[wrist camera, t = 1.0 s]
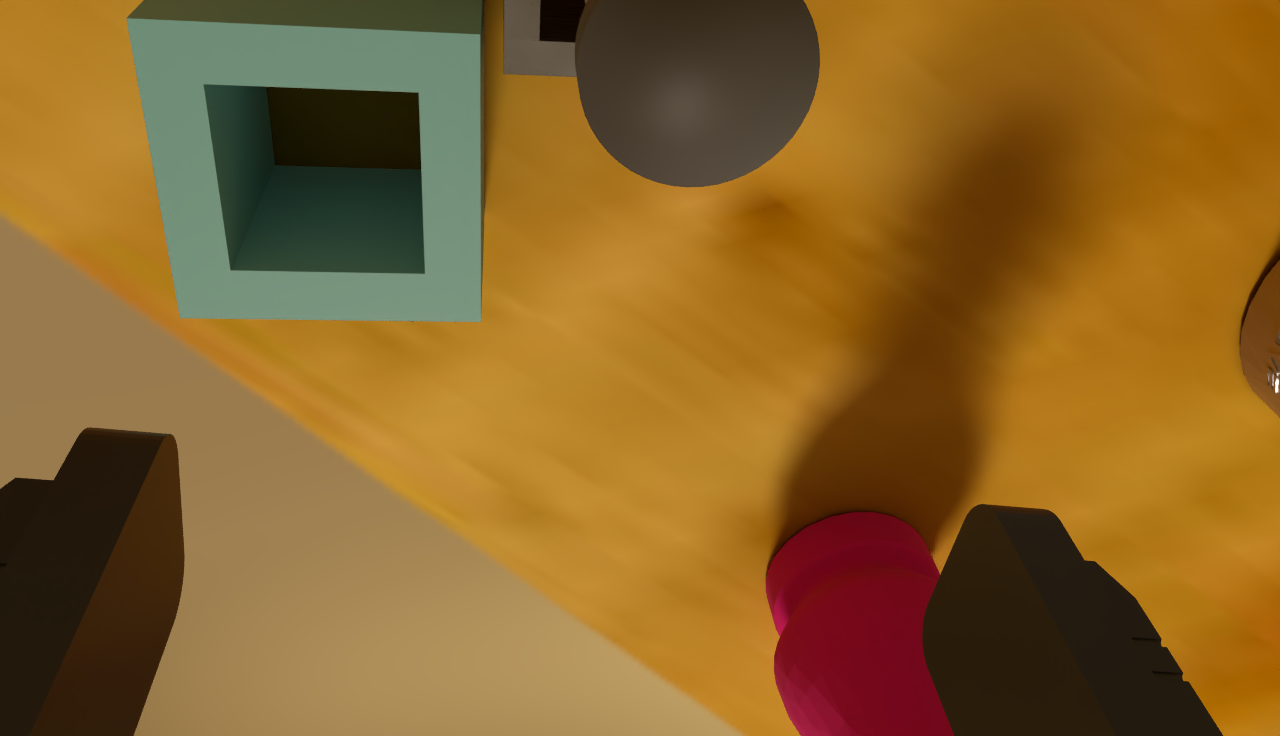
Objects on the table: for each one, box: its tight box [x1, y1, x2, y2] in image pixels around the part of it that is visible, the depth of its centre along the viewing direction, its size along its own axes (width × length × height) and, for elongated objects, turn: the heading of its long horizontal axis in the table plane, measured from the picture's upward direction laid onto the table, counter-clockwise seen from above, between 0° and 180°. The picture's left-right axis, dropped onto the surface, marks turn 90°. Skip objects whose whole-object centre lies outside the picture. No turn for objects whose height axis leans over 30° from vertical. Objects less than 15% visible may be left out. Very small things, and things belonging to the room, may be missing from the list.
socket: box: [126, 0, 484, 322], centre depth 27 cm, size 7×7×6 cm
